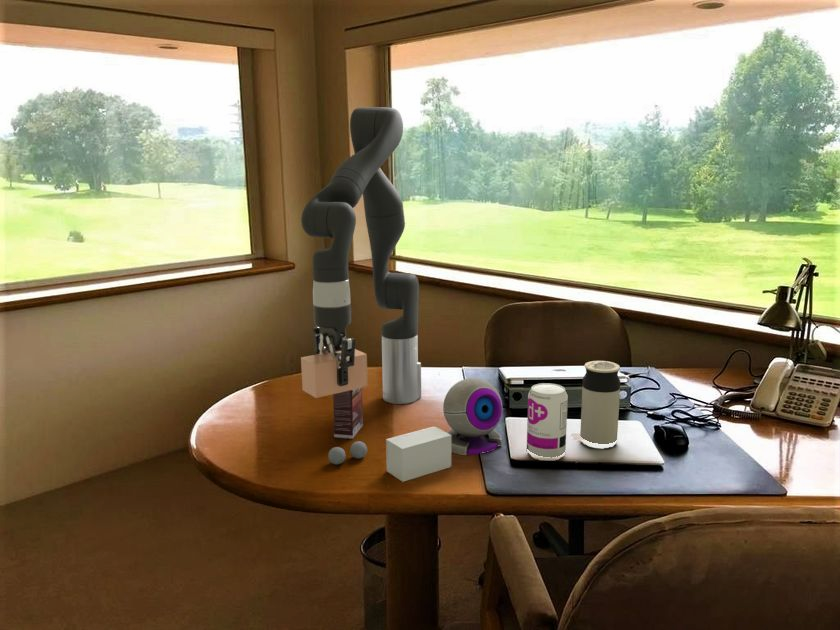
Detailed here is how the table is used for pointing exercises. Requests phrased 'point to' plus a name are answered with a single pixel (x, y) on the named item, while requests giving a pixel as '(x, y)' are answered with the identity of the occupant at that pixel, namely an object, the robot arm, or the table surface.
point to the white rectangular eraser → (418, 453)
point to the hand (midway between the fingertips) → (334, 380)
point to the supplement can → (547, 420)
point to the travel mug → (600, 402)
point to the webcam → (473, 416)
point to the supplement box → (347, 413)
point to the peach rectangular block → (331, 374)
